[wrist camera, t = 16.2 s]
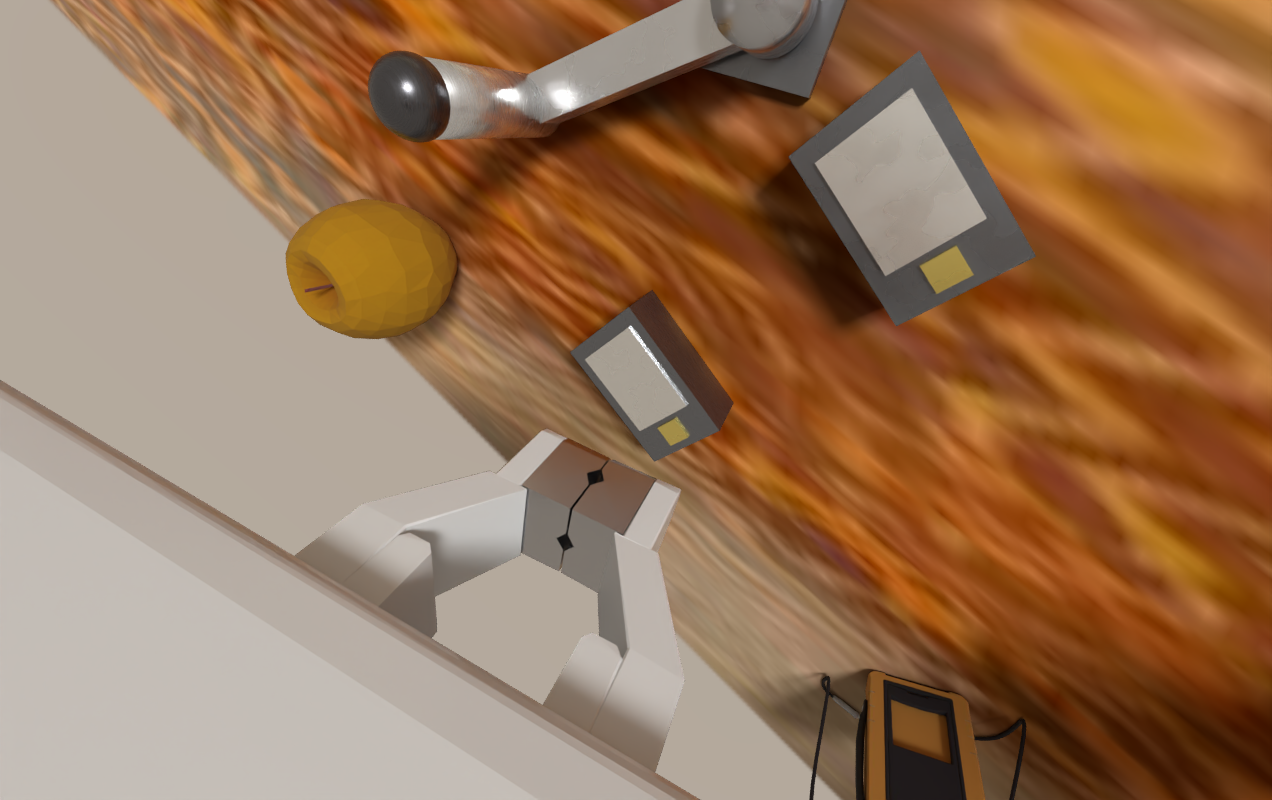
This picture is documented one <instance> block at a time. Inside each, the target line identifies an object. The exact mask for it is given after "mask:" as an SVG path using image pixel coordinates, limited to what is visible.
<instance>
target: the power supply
mask: <svg viewBox="0 0 1272 800" xmlns="http://www.w3.org/2000/svg"><path fill="white" fill-rule="evenodd" d="M570 353H571V354H572V355H573V357H574V358H575V359H576V361H577V362H578V363H579V364H580V366H581V367H582V368H583V370H584V371H585V372H586V374H587V375H588V376H589V377H590V379H591V380H592V381H593V383H594V384H595V385H596V387H597V388H598V389H599V390H600V392H601V393H602V394H603V396H604V397H605V398H606V400H607V401H608V402H609V403H610V405H611V406H612V407H613V409H614V410H615V411H616V412H617V414H618V415H619V416H620V418H621V419H622V420H623V422H624V423H625V424H626V425H627V427H628V428H629V429H630V431H631V432H632V433H633V435H634V436H635V437H636V438H637V440H638V441H639V442H640V444H641V445H642V446H643V448H644V449H645V450H646V451H647V453H648V454H649V455H650V457H651V458H652V459H653V461H657V460H659V459H661V458H663V457H665V456H667V455H669V454H671V453H673V452H675V451H678V450H680V449H682V448H684V447H686V446H688V445H690V444H692V443H694V442H697V441H699V440H701V439H703V438H705V437H707V436H709V435H711V434H713V433H715V432H718V431H720V429H721V427H722V425H723V423H724V421H725V419H726V417H727V415H728V413H729V411H730V409H731V407H732V405H733V401H732V400H731V399H730V397H729V396H728V394H727V393H726V392H725V390H724V389H723V387H722V386H721V385H720V383H719V382H718V380H717V379H716V378H715V376H714V375H713V374H712V372H711V371H710V369H709V368H708V367H707V365H706V364H705V362H704V361H703V360H702V358H701V357H700V356H699V354H698V353H697V351H696V350H695V349H694V347H693V346H692V344H691V343H690V342H689V340H688V339H687V337H686V336H685V335H684V333H683V332H682V331H681V329H680V328H679V326H678V325H677V324H676V322H675V321H674V319H673V318H672V317H671V315H670V314H669V312H668V311H667V310H666V308H665V307H664V306H663V304H662V303H661V301H660V300H659V299H658V297H657V296H656V294H655V293H654V292H653V290H652V291H650V292H649V293H647V294H646V295H645V296H643V297H642V298H641V299H639V300H638V301H636V302H635V303H634V304H632V305H631V306H630V307H628V308H627V309H626V310H624V311H623V312H622V313H620V314H619V315H618V316H617V317H615V318H614V319H613V320H611V321H610V322H609V323H608V324H606V325H605V326H604V327H602V328H601V329H600V330H599V331H597V332H596V333H595V334H593V335H592V336H591V337H589V338H588V339H587V340H586V341H584V342H583V343H582V344H580V345H579V346H578V347H577V348H575V349H574V350H573V351H571V352H570Z"/></svg>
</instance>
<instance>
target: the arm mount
mask: <svg viewBox="0 0 1272 800" xmlns="http://www.w3.org/2000/svg"><path fill="white" fill-rule="evenodd" d="M846 2H847V0H818V7H817V11H816V15H815V18H814V20H813V23H812V25H811V27H810V29H809V31H808V32H807V34H806V35H805V37H804V38H803V39H802V40H801V42H800V43H799V44H798V45H797V46H796V47H795V48H793V49H792V50H791V51H789V52H788V53H786V54H784V55H782V56H780V57H777V58H772V59H761V58H757V57H754V56H752V55H750V54H749V53H747V52H745V51H744V50H741V51H739V52H736V53H734V54H731V55H729V56H726V57H724V58H721V59H719V60H716V61H714V62H711V63H709V64H707V65H704V66H702V67H700V68H703V69H706V70H710V71H713V72H717V73H721V74H724V75H728V76H731V77H735V78H738V79H742V80H745V81H749V82H753V83H756V84H760V85H763V86H767V87H770V88H774V89H778V90H781V91H785V92H788V93H792V94H795V95H799V96H803V97H806V98H811V95H812V92H813V90H814V87H815V84H816V82H817V79H818V77H819V74H820V71H821V69H822V66H823V63H824V61H825V58H826V55H827V53H828V50H829V47H830V45H831V42H832V39H833V37H834V34H835V31H836V29H837V26H838V24H839V21H840V18H841V16H842V13H843V10H844V8H845V5H846Z"/></svg>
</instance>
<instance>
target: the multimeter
mask: <svg viewBox="0 0 1272 800" xmlns="http://www.w3.org/2000/svg"><path fill="white" fill-rule="evenodd" d="M826 680H827V689H826V687H825V685H824V683H825V681H826ZM822 687H823V689H824V690H825V692H826V696H825V702H824V708H823V714H822V719H821V725H820V731H819V736H818V742H817V748H816V753H815V759H814V766H813V773H812V780H811V790H810V800H813V795H814V784H815V777H816V770H817V763H818V756H819V751H820V745H821V739H822V733H823V727H824V721H825V715H826V709H827V703H828V697H829V695H830V696H831V697H832V699H833V700H834V701H835V702H836V703H837V704H839V705H840V706H841V707H842V708H844V709H845V710H846V711H847V712H849V713H850V714H851V715H852V716H853V717H854V718H855V719H856V718H859V724H858V731H857V737H856V800H985V795H984V789H983V784H982V778H981V772H980V767H979V761H978V757H977V750H976V745H975V740H981V741H988V740H996V739H1000V738H1003V737H1005V736H1007V735H1009V734H1010V733H1012V732H1013V731H1014V730H1015V729H1017V728H1018V727H1019V726H1020V725H1021V724H1022V736H1021V742H1020V749H1019V754H1018V760H1017V765H1016V770H1015V775H1014V780H1013V785H1012V789H1011V794H1010V799H1009V800H1014V796H1015V792H1016V787H1017V782H1018V777H1019V772H1020V767H1021V761H1022V756H1023V750H1024V743H1025V737H1026V722H1025V720H1024V719H1021V720H1018V721H1017V722H1016V723H1015V724H1014V725H1013V726H1012V727H1011V728H1010V729H1008V730H1007V731H1005V732H1004V733H1002V734H1000V735H997V736H992V737H974V734H973V728H972V724H971V718H970V712H969V703H968V702H967V701H966V700H965V699H964V698H963V697H962V696H960V695H958V694H955V693H952V692H948V693H946V692H943V691H939V690H936V689H932V688H929V687H925V686H922V685H918V684H915V683H912V682H908V681H905V680H901V679H898V678H894V677H891V676H887V675H886V674H885V673H883V672H878V671H872V672H870V673H869V674H868V679H867V684H866V690H865V693H866V699H865V700H864V704H863V706H862V712H861V714H860V717H859V713H858V712H856V711H854V710H853V709H852V708H851V707H849V706H848V705H847V704H846V703H844V702H843V701H842V700H841V699H839V698H838V697H836V696H835V695H833V694H831V693H830V692H829V690H830V677H829V676H826V677H825V678H824V679H823V680H822ZM864 737H865V746H864ZM863 762H864V785H863Z"/></svg>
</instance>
